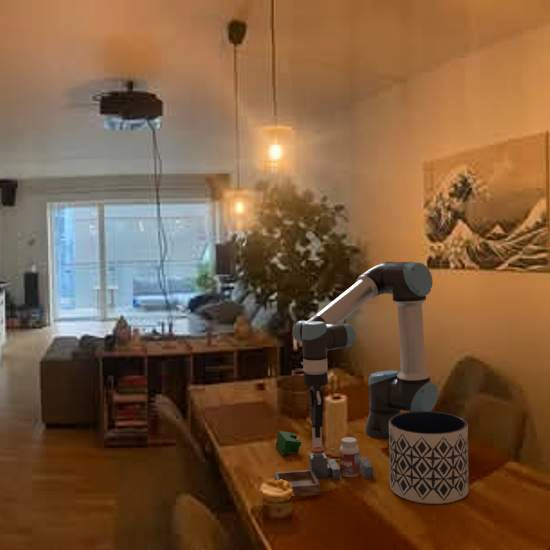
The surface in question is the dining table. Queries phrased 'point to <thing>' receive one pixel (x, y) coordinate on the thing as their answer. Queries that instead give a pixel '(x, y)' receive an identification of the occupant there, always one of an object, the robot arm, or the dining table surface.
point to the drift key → (317, 451)
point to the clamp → (287, 443)
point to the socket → (335, 467)
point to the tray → (301, 482)
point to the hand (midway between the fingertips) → (317, 446)
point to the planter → (428, 457)
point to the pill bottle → (349, 458)
